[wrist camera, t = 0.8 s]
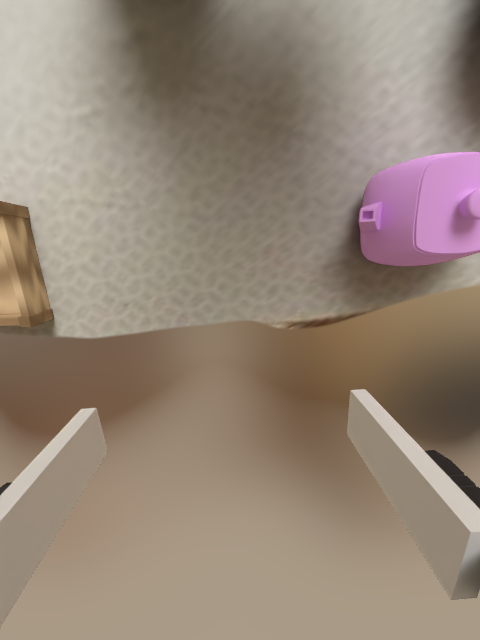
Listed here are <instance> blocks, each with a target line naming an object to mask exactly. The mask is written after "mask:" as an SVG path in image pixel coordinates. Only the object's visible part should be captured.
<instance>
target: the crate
mask: <svg viewBox="0 0 480 640" xmlns="http://www.w3.org/2000/svg"><path fill="white" fill-rule="evenodd" d="M29 218H30V216H29V212H28V208H27V207H24V206H20V205H15V204H11V203H6V202H2V201H0V326H13V325H20V327H33V326H35V325H38V324H41V323H43V322H46V321H49V320H51V319H54V316H53V312H52V309H50V305H49V301H48V297H47V293H46V288H45V284H44V280H43V276H42V272H41V268H40V264H39V259H38V255H37V251H36V247H35V243H34V239H33V235H32V231H31V226H30V222H29Z"/></svg>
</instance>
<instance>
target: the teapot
mask: <svg viewBox="0 0 480 640" xmlns="http://www.w3.org/2000/svg"><path fill="white" fill-rule="evenodd" d="M359 227H360V243H361V250H362V253H363V255H364V256H365V257H366V258H367V259H368V260H370V261H372V262H375V263H379V264H384V265H392V266H420V265H429V264H435V263H441V262H445V261H450V260H454V259H457V258H461V257H465V256H469V255H472V254H475V253H479V252H480V152H456V153H444V154H436V155H431V156H425V157H421V158H417V159H413V160H410V161H407V162H403V163H400V164H397V165H395V166H392V167H389V168H387V169H384V170H382V171H381V172H379V173H377V174H375V175H374V176H373V177H372V178H371V179H370V181H369V182H368V184H367V186H366V189H365V192H364V197H363V203H362V208H361V209H360V210H359Z"/></svg>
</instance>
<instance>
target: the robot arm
mask: <svg viewBox="0 0 480 640" xmlns="http://www.w3.org/2000/svg"><path fill="white" fill-rule="evenodd" d="M347 434H348V436H349V438H350V439H351V441H352V443H353V444H354V446H355V447H356V449H357V451H358V452H359V454H360V455H361V457H362V459H363V460H364V462H365V463H366V465H367V466H368V468H369V470H370V471H371V473H372V474H373V476H374V478H375V479H376V481H377V483H378V484H379V486H380V487H381V489H382V490H383V492H384V494H385V495H386V497H387V499H388V500H389V502H390V503H391V505H392V507H393V508H394V510H395V511H396V513H397V515H398V516H399V518H400V519H401V521H402V522H403V524H404V526H405V527H406V529H407V530H408V532H409V534H410V535H411V537H412V538H413V540H414V541H415V543H416V545H417V546H418V548H419V550H420V551H421V553H422V554H423V556H424V558H425V559H426V561H427V562H428V564H429V566H430V567H431V569H432V570H433V572H434V573H435V575H436V577H437V578H438V580H439V581H440V583H441V585H442V586H443V588H444V590H445V591H446V593H447V594H448V596H449V597H450V599H451V600H455V599H467V598H477V596H478V593H479V590H480V488H479V487H476V485H475V483H473V482H472V481H471V480H470V479H469V478H468V477H467V476H465V475H464V473H463V472H462V471H461V470H460V469H459V468H458V467H457V466H456V465H455V464H454V463H453V462H452V461H451V460H449V459H448V458H446V457H444V456H443V455H441V454H440V453H438V452H437V451H435V450H429V451H424V450H423V449H422V448H421V447H420V446H419V445H418V444H417V443H416V442H415V441H414V440H413V439H412V438H411V437H410V436H409V435H408V434H407V433H406V431H404V429H403V428H401V426H400V425H399V424H398V423H397V422H396V421H395V420H394V419H393V418H392V417H391V416H390V415H389V414H388V413H387V412H386V411H385V410H384V408H383V407H382V406H381V405H380V404H379V403H378V402H377V401H376V400H375V399H374V398H373V397H372V396H371V395H370V394H369V393H368V392H367V391H366V390H365V389H362V390H351V392H350V405H349V416H348V429H347ZM106 453H107V447H106V443H105V439H104V435H103V431H102V428H101V424H100V420H99V416H98V412H97V408H89V409H81V410H80V411H79V412H78V413H77V414H76V415H75V416H74V417H73V418H72V420H71V421H70V422H69V423H68V424H67V425H66V426H65V427H64V428H63V429H62V430H61V431H60V432H59V434H57V435H56V437H55V438H54V439H53V440H52V441H51V442H50V443H49V444H48V445H47V446H46V447H45V448H44V450H42V451H41V453H40V454H39V455H38V456H37V457H36V458H35V459H34V460H33V461H32V462H31V463H30V464H29V465H28V467H27V468H26V469H25V470H24V471H23V472H22V473H21V474H20V475H19V476H18V477H17V478H16V479H15V480H14V482H11V483H6V484H5V485H3V486H2V487H0V627H1V626H2V624H3V622H4V621H5V619H6V617H7V616H8V614H9V612H10V611H11V609H12V608H13V606H14V604H15V603H16V601H17V599H18V598H19V596H20V594H21V593H22V591H23V589H24V588H25V586H26V585H27V583H28V581H29V580H30V578H31V576H32V574H33V573H34V571H35V570H36V568H37V567H38V565H39V563H40V562H41V560H42V558H43V557H44V555H45V553H46V551H47V550H48V548H49V547H50V545H51V544H52V542H53V540H54V539H55V537H56V535H57V533H58V532H59V530H60V529H61V527H62V526H63V524H64V522H65V521H66V519H67V517H68V516H69V514H70V512H71V511H72V509H73V508H74V506H75V504H76V502H77V501H78V499H79V498H80V496H81V494H82V493H83V491H84V489H85V488H86V486H87V484H88V483H89V481H90V479H91V478H92V476H93V475H94V473H95V471H96V469H97V468H98V467H99V465H100V463H101V461H102V460H103V458H104V456H105V455H106Z"/></svg>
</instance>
